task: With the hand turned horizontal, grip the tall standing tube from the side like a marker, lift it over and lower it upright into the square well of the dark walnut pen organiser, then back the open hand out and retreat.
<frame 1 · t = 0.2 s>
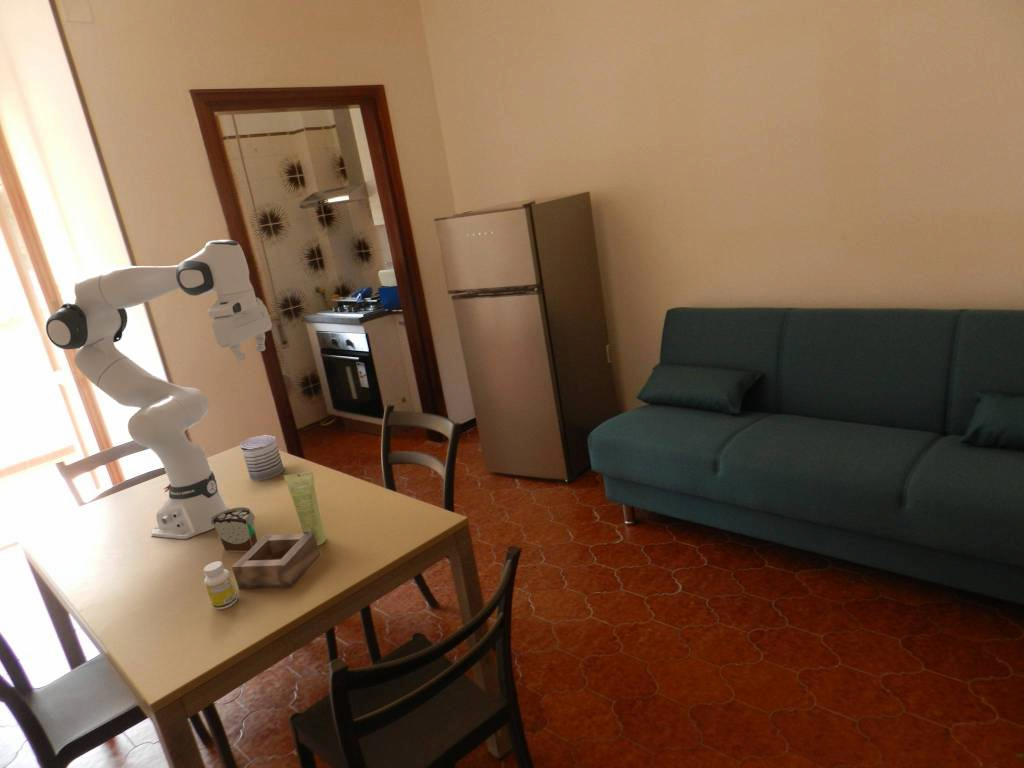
hand: (251, 355, 183), 48 cm above the table, tool pointing down, fingers open, 8 cm apart
food container: (247, 546, 187), on the table
supplement bottle: (226, 604, 160), on the table
can: (267, 473, 236), on the table
organiser: (280, 571, 170), on the table
tube: (317, 543, 181), on the table
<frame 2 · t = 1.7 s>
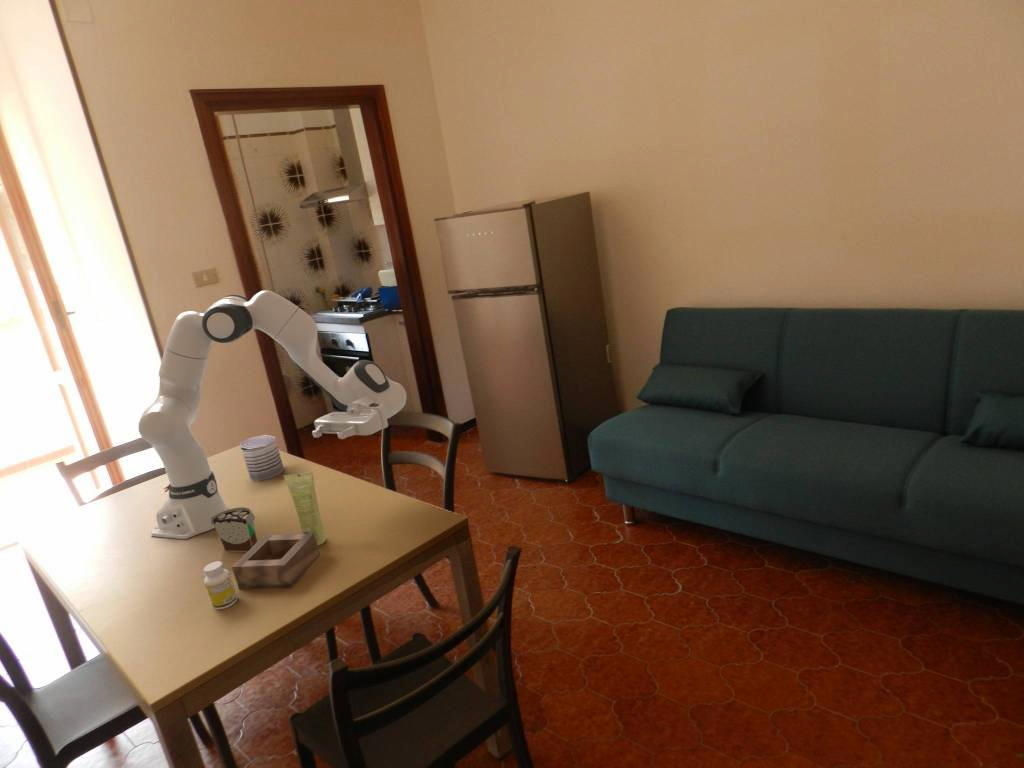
hand: (326, 435, 183), 25 cm above the table, tool horizontal, fingers open, 8 cm apart
nothing on the table moved.
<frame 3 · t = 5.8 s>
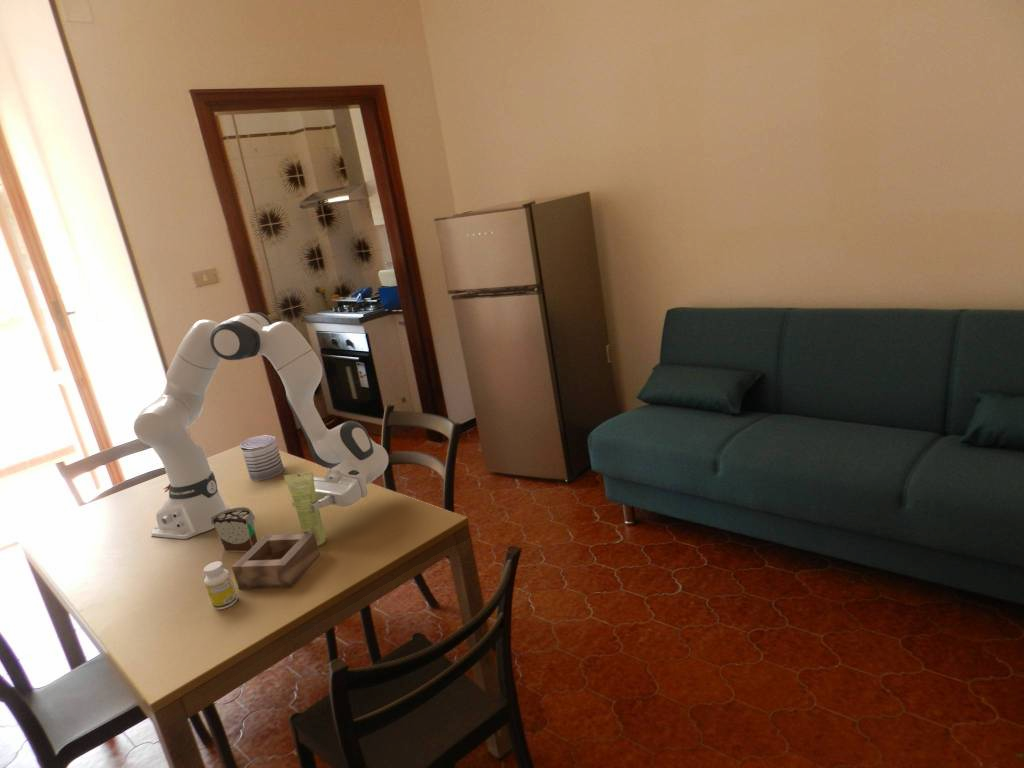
hand: (303, 505, 177), 11 cm above the table, tool horizontal, fingers closed on tube, 6 cm apart
tube: (317, 543, 181), on the table, touching gripper
everything else where it was.
when the fingers open (13 cm above the table, at t = 12.5 s): tube moves 2 cm, resting on organiser.
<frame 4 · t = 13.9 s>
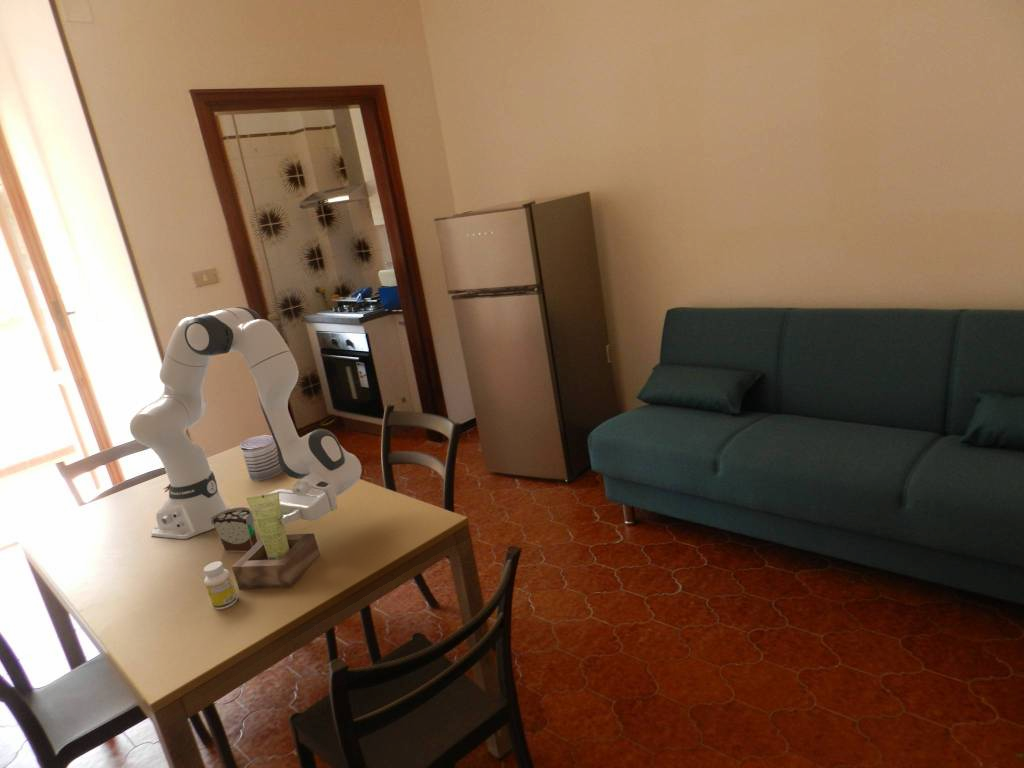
hand: (267, 520, 167), 14 cm above the table, tool horizontal, fingers open, 8 cm apart
tube: (284, 569, 169), point 1 cm above the table, touching organiser
everything else where it was.
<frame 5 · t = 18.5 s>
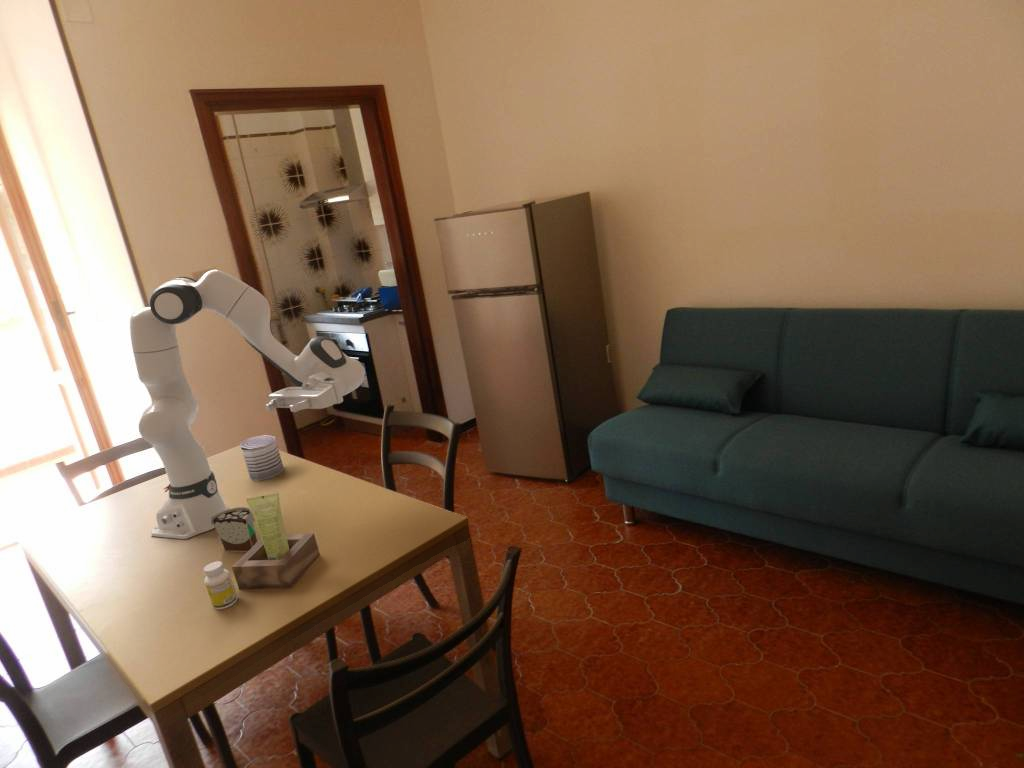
hand: (279, 408, 181), 34 cm above the table, tool horizontal, fingers open, 8 cm apart
nothing on the table moved.
at the end: tube 1.6 cm off-centre on the organiser, point 0.8 cm above the organiser's base; tube tilted 0°; the gripper is holding nothing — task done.
